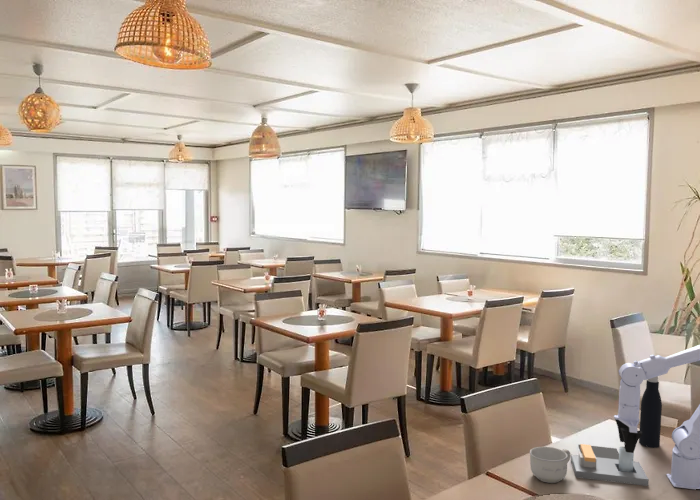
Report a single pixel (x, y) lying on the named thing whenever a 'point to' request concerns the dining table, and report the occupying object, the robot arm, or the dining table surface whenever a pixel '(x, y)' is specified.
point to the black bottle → (651, 415)
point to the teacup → (549, 463)
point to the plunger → (587, 453)
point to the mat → (604, 452)
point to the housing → (607, 470)
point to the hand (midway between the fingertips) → (626, 446)
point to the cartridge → (625, 460)
